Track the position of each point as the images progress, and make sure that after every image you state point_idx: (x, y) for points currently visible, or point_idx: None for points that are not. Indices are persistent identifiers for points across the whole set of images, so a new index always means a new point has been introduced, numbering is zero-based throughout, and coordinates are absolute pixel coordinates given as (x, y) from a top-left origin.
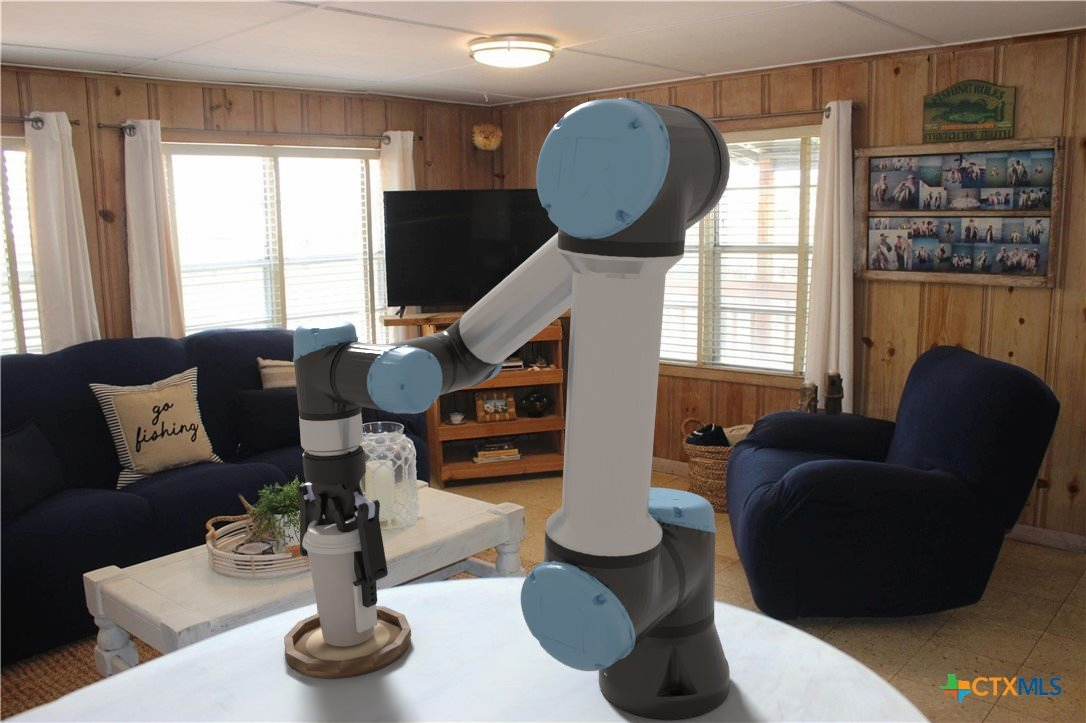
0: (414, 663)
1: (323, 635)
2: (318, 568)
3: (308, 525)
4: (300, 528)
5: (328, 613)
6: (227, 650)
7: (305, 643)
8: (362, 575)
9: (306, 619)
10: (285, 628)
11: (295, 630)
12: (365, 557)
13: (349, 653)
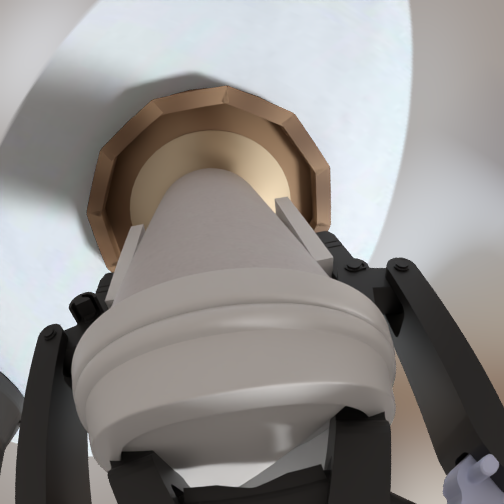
0: (86, 262)
1: (217, 170)
2: (184, 248)
3: (429, 356)
4: (452, 322)
5: (180, 194)
6: (364, 45)
7: (261, 143)
8: (79, 331)
9: (325, 183)
10: (358, 154)
11: (302, 144)
12: (39, 386)
13: (157, 190)
